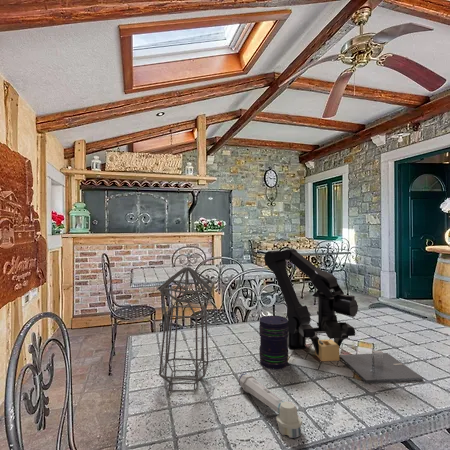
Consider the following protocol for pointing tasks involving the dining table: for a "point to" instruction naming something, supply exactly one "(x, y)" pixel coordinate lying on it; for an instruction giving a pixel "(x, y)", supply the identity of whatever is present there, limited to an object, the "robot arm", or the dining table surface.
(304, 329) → the robot arm
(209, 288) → the geometric lantern
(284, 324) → the dark purple barrel
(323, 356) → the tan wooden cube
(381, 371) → the hub plate
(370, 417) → the dining table surface
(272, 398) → the toothbrush head
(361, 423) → the dining table surface
